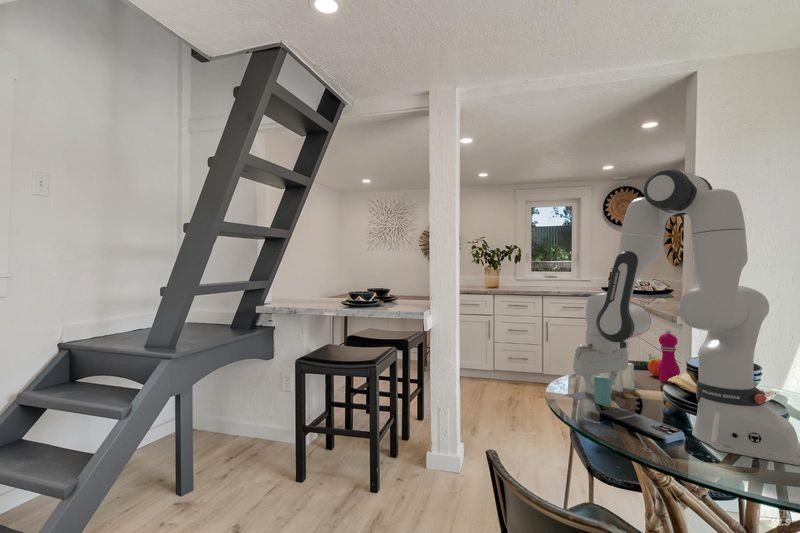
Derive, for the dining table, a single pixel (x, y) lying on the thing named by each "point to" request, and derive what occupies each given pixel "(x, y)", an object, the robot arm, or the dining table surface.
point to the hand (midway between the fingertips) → (600, 386)
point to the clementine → (654, 366)
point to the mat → (587, 395)
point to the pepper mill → (668, 357)
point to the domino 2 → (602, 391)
